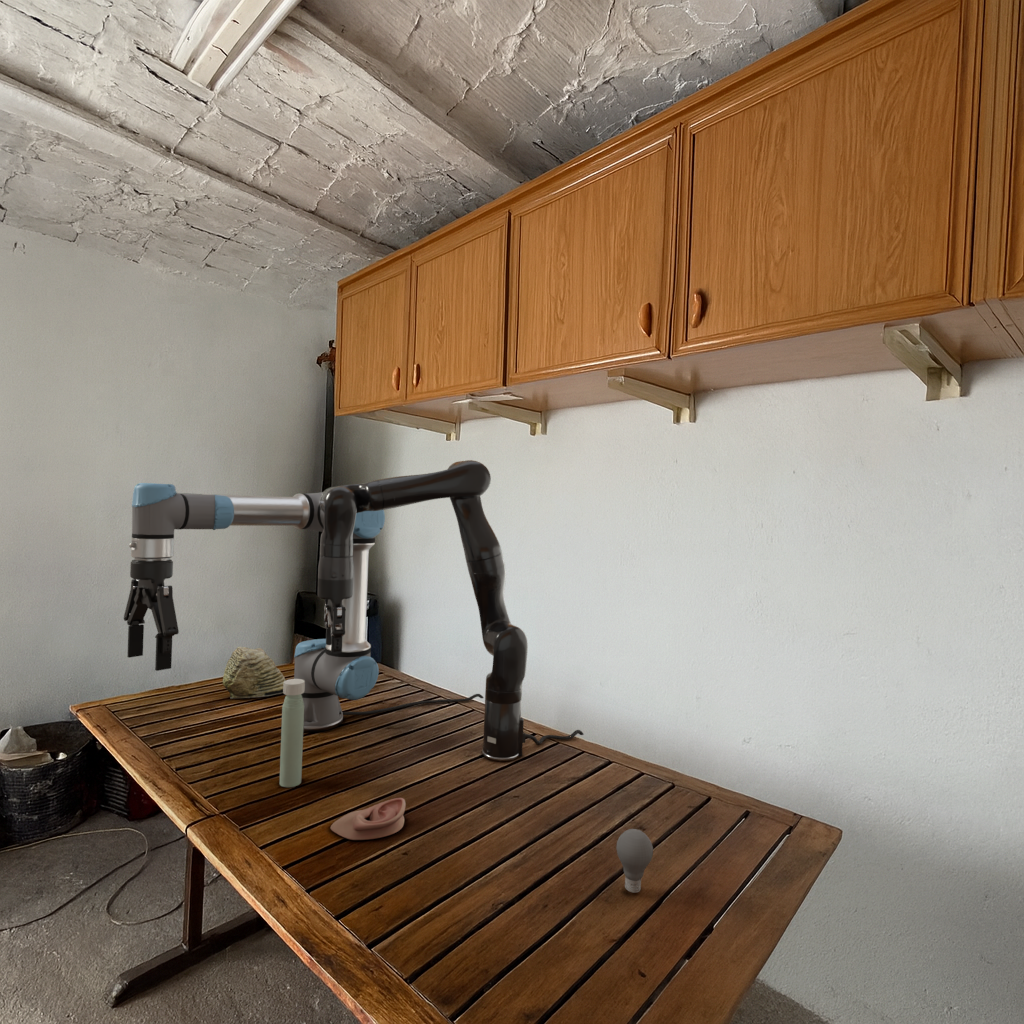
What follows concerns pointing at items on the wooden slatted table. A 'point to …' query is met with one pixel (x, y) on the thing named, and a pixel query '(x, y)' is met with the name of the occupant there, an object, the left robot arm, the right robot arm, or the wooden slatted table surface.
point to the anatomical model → (372, 821)
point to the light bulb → (634, 857)
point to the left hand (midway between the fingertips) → (148, 662)
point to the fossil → (252, 674)
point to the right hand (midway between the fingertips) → (333, 648)
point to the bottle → (291, 741)
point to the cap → (294, 687)
